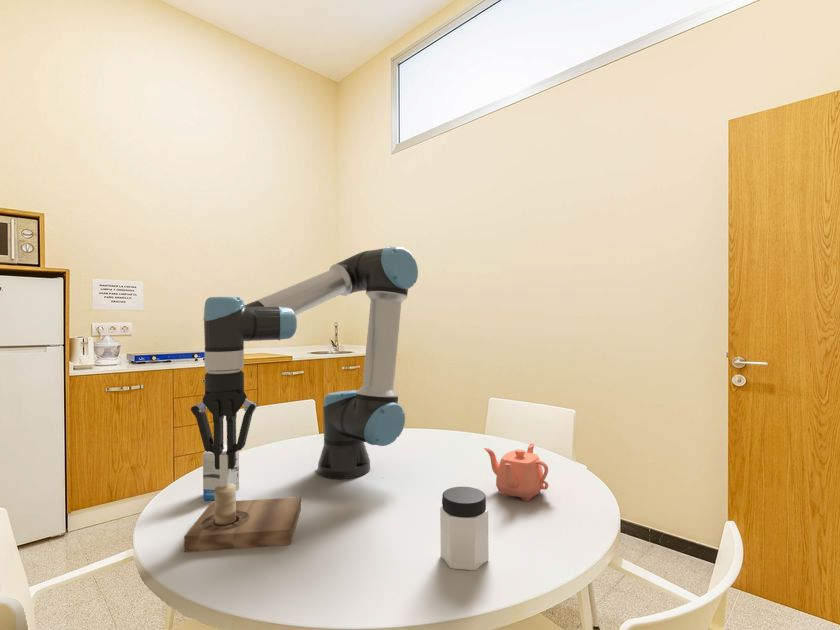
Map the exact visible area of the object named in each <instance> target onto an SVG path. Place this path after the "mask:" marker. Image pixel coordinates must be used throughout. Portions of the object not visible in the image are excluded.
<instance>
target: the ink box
mask: <svg viewBox="0 0 840 630" xmlns="http://www.w3.org/2000/svg"><path fill="white" fill-rule="evenodd" d="M223 448H224V449H223V451H227V443H223ZM230 483H231V484H235V485H236V491H238V490H239V489H240V450H238V451H236V465H235V467H234V468H233V469H231V482H230ZM219 485H220V469H215V455H214V453H212V452H206V451H205V450H204V452H202V486H203V487H202V491H203V493H202V494H203V497H202V499H203V500H209V501H210V500H212V501H215V487H217V486H219Z"/></svg>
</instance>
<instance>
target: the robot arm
mask: <svg viewBox="0 0 840 630" xmlns="http://www.w3.org/2000/svg"><path fill="white" fill-rule="evenodd" d="M418 276H419V268H418V264H417V261H416V259H415V258H414V256H413V254H412V253H411V252H410V251H409V250H408V249H406V248H404V247H401V246H386V247H383V248H377V249H371V250H364V251H362V252H361V251H360V252H358V253H357V254H354V255H352V256H349V257H348V258H345V259H344V260H341V261H339V262H337V263H334V264H332V265H331V266H330V267H329V270H327V271H324V272H323V273H320V274H317V275H315V276H312V277H310V278H308V279H305V280H303V281H300V282H297V283H296V284H294V285H293V284H292V285H291V286H288V287H286V288H283V289H281V290H279V291H276V292H273V293H271V294H268V295H267V296H263V297H262V298H259V299H257V300H254V301H252V302H249V303H246V304H245V303H244V300H243V298H242V297H240V296H237V297H236V296H212V297H211V296H210V297H208V298H207V299H206V300H204V301H205V302H204V308H203V319H202V321H203V329H204V332H203V333H204V370H205V371H207V372H206V373H204V395H203V396H202V399H201V400H202V401H200V402H199V403H197V404H195V405H193V406H191V408H190V411H191V413H192V414H193V416H194V417H195V419H196V422H197V423H196V424H197V426H198V430H199V433H200V434H199V435H200V436H201V442H202V445H203V448H204V451H206V452H212V453H214V455H215V469H220V487H224V486H228V485H229V484H230V482H231V469H233V468H234V467H235V465H236V451H238V450H239V451H242V449H243V448H245V446H246V443H247V437H248V434H249V429H250V426H251V422H252V418H253V413H254V412H255V410H256V409H257V408H258V406H259V405H258V403H257V402H256V401H254V402H253V401H251V400H249V399H248V398H247V395H246V392H245V372H244V371H243V370H242V369H244V367H245V364H244V363H245V361H244V360H245V357H244V356H245V355H244V353H245V352H244V349H245V348H244V345H245V342H255V341H256V342H257V341H260V342H261V341H281V340H288V339H291V338H293V336H294V335H295V333H297V328H298V322H297V321H298V318H297V315H299V314H302V313H304V312H306V311H307V310H310V309H312V308H314V307H317V306H318V305H321V304H323V303H326V302H327V301H329V300H331V299H334V298H336V297H338V296H344V297H345V296H346V297H347V296H349V295H350V294H353V293H358V292H364V291H365V294H366V296H367V297H368V298H369V299H370V304H369V305H370V306H369V313H368V314H369V316H368V325H367V335H366V346H365V355H364V357H365V358H364V364H363V365H364V367H363V375H362V376H363V377H362V385H361V386H360V388H359V389H353V390H352V389H350V390H342V391H336V392H335V391H334V392H330V393H327V394H325V396H324V398H323V406H322V409H323V446H322V449H321V454H320V457H319V460H318V462H317V473H318V475H320V476H322V477H324V478H328V479H335V480H336V479H337V480H338V479H342V480H343V479H352V478H357V477H360V476H363V475H365V474H368V472H370V469H371V460H370V457H369V453H368V451H367V448H366V444H365V443H367V444H369V445H371V446H379V447H384V446H385V447H386V446H389V445H391V444H392V443H394V442H395V441H396V440H397V438H398V437H400V436H401V434H402V432H403V430H404V427H405V424H406V414H405V411H404V409H403V407H402V406H401V405H400V404H398V403H399V394H398V393H397V392H396V390H395V388H394V387H395V386H394V385H395V375H396V368H397V367H396V364H397V356H398V355H397V354H398V353H397V352H398V344H399V343H398V342H399V334H400V333H399V332H400V322H401V310H402V303H403V302H404V301H405V300H406V299H407V298H408V294H409V293H408V292H409V289H411V288H412V287H413V286H414V285H415V284H416V282H417V280H418ZM242 406H243V411H244V414H243V417H242V421H241V426H240V429H239V434H238V438H237V416H238V415H237V414H238V412H239V411H240V410H241V408H242ZM207 410H208V411H209V412H210V413H211V414H212V422H213V434H212V431H211V426H210V423H209V420H208V416H207V413H206V411H207ZM224 418H225V421H226V444H227V451H223V449H224V448H223V444H224Z"/></svg>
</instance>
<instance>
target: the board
mask: <svg viewBox="0 0 840 630" xmlns="http://www.w3.org/2000/svg"><path fill="white" fill-rule="evenodd" d="M301 512H302V497H301V496H298V497H279V498H262V499H247V500H246V499H245V500H244V499H243V500H236V522H235V523H234V524H231V525H227V526H215V501H212V502H210V504H209V505H208V506H207V508H205V510H204V511H203V512H202V514H201V515H200V516H199V517H198V518H197V520H196V521H195V522H194V524H193V525H192V526H191V527H190V529H189V530H188V531H187V532H186V534H185V535H184V536H183V537H184V539H183V540H184V541H183V545H184V547H183V549H184V551H183V552H184V553H188V552H190V553H191V552H201V551H214V550H215V551H216V550H217V551H218V550H231V549H233V550H234V549H244V548H245V549H246V548H258V547H259V548H260V547H261V548H262V547H272V546H273V547H274V546H285V545H286V546H287V545H291V544H292V542H293V537H294V535H295V531H296V528H297V525H298V522H299V518H300V514H301Z"/></svg>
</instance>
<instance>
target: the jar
mask: <svg viewBox="0 0 840 630" xmlns="http://www.w3.org/2000/svg"><path fill="white" fill-rule="evenodd" d="M486 496H487V495H486V493H485V492H484V491H482V490H480V489H479V488H476V487H472V486H455V487H450V488H447V489H446V490H444V491H443V492H442V496H441V497H442V498H441V504H442V505H441V506H440V508H439V512H440V518H439V519H440V525H439V526H440V557H441V558H442V559H443V561H444V562H445V563H446V565H448V567H449V568H450V569H457V570H466V571H476V570H477V569H479V568H480V567H482V565H484V564H485V563H486V562H488V560H489V559H490V558H489V510H488V509H487V507H486V506H487V497H486Z"/></svg>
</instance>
